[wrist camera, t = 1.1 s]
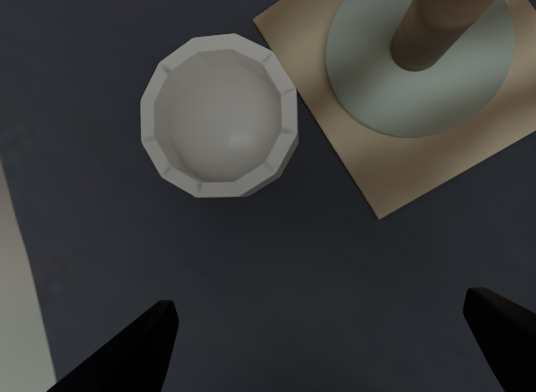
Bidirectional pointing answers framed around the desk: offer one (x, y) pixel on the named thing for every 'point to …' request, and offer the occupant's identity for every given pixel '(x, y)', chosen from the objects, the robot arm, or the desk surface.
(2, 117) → the desk surface
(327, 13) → the mat
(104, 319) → the desk surface
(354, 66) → the lid
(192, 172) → the bowl
